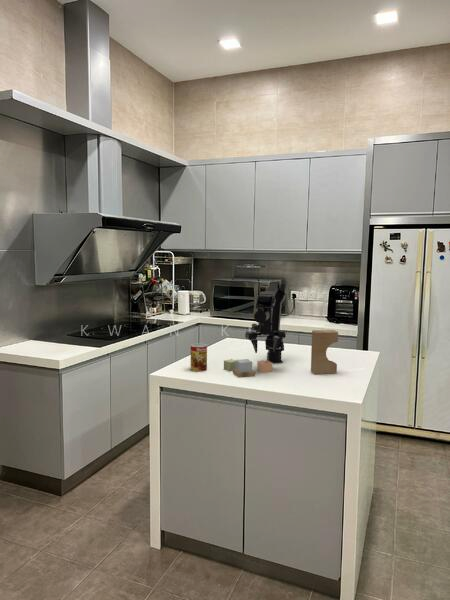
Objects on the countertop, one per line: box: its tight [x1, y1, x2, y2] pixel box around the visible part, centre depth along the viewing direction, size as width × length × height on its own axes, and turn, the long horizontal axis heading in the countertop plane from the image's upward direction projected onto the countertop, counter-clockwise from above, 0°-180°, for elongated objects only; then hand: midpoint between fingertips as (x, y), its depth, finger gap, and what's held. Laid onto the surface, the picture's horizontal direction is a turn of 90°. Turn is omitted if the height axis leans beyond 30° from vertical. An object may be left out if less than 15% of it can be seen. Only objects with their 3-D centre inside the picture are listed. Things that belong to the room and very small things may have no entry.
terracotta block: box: [256, 359, 273, 374], centre depth 212 cm, size 6×6×4 cm
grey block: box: [235, 358, 253, 373], centre depth 205 cm, size 6×6×4 cm
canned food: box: [190, 342, 208, 373], centre depth 212 cm, size 8×8×12 cm
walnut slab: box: [232, 369, 256, 379], centre depth 205 cm, size 8×8×2 cm
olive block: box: [223, 358, 237, 373], centre depth 213 cm, size 5×5×4 cm
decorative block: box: [310, 329, 339, 375], centre depth 209 cm, size 11×6×20 cm, turn 98°
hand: (265, 352), depth 211 cm, fingers open, 9 cm apart
